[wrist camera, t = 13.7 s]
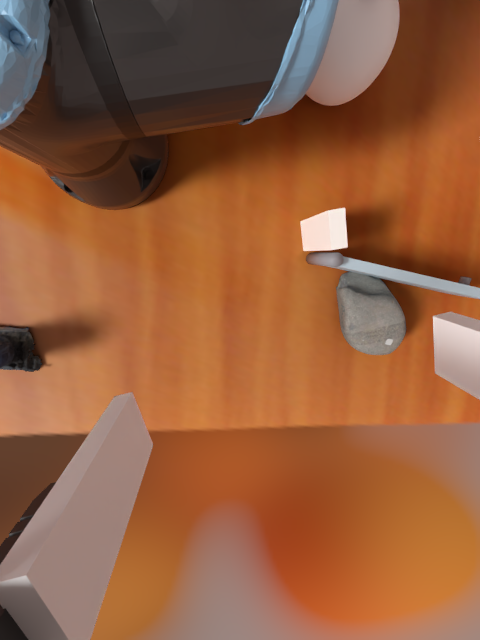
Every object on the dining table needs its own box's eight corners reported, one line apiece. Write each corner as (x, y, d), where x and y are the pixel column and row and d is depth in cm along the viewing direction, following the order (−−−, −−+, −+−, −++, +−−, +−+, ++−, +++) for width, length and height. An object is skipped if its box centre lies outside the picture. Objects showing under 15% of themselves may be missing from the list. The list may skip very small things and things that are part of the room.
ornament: (325, -1, 32) (385, -144, 21) (380, 72, 34) (462, -20, 23) (265, 73, 33) (290, -22, 22) (322, 139, 36) (371, 84, 24)
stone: (391, 268, 40) (431, 311, 33) (371, 314, 46) (401, 360, 39) (331, 269, 40) (358, 313, 32) (318, 315, 46) (338, 362, 38)
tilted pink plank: (300, 221, 38) (328, 210, 28) (313, 219, 38) (345, 207, 28) (303, 250, 39) (331, 250, 29) (315, 248, 39) (347, 247, 29)
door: (304, 262, 39) (327, 265, 31) (309, 244, 38) (334, 241, 30) (448, 295, 41) (504, 305, 33) (454, 278, 41) (513, 284, 33)
